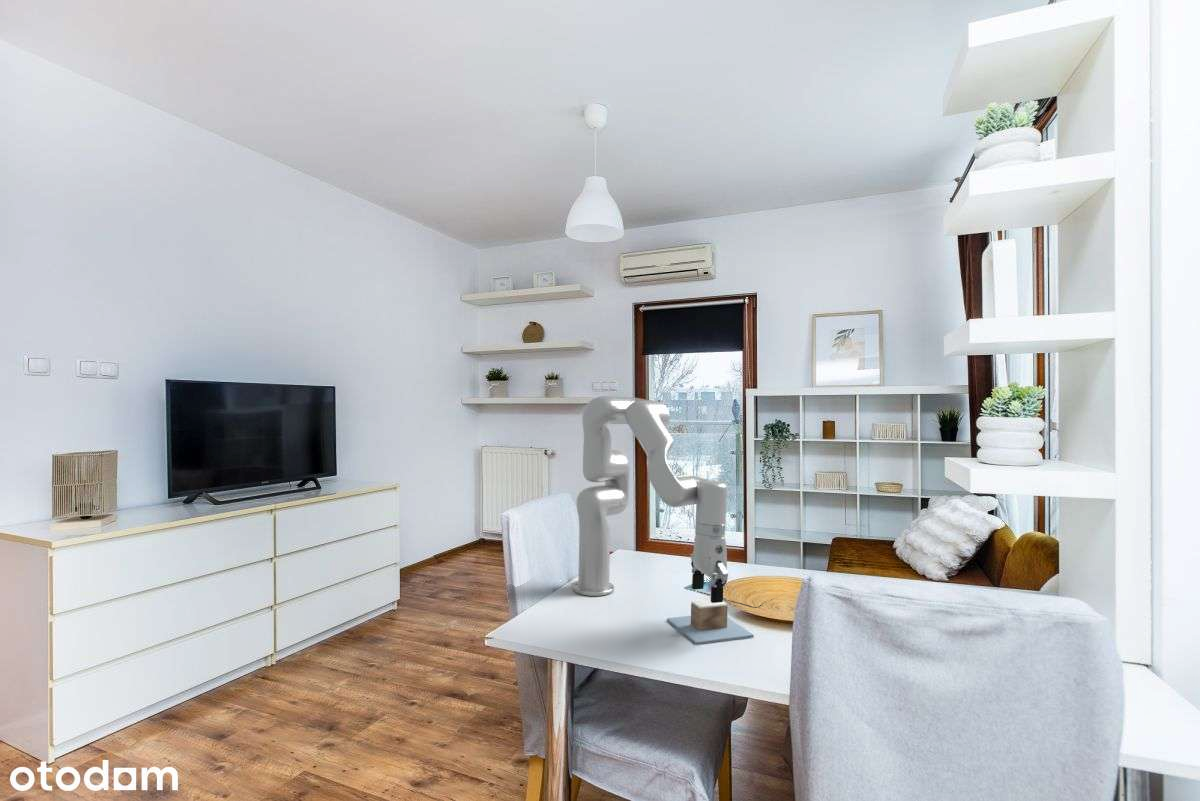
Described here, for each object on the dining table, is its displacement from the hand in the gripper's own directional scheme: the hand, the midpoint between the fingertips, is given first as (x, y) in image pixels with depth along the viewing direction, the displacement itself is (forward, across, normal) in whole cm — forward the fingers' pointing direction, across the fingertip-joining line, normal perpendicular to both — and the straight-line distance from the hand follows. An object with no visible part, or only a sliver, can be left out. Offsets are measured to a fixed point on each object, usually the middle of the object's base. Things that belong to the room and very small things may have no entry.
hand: (706, 595), depth 149 cm
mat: (+8, -1, 0) cm, 8 cm away
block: (+8, -1, 0) cm, 8 cm away
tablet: (+9, +24, -24) cm, 35 cm away
